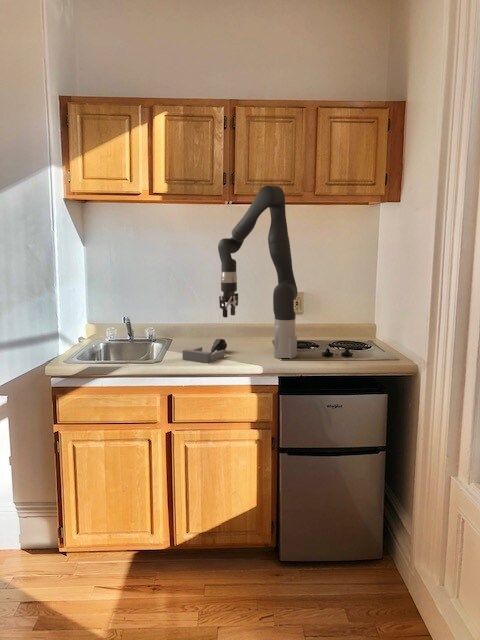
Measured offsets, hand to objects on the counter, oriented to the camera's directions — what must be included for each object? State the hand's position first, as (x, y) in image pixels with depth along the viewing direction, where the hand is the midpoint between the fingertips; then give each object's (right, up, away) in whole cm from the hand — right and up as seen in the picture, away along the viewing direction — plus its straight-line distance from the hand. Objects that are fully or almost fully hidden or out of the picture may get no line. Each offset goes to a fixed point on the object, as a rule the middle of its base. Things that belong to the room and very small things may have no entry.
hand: (229, 316), depth 242 cm
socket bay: (-11, -19, -16) cm, 27 cm away
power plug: (-5, -18, -7) cm, 20 cm away
